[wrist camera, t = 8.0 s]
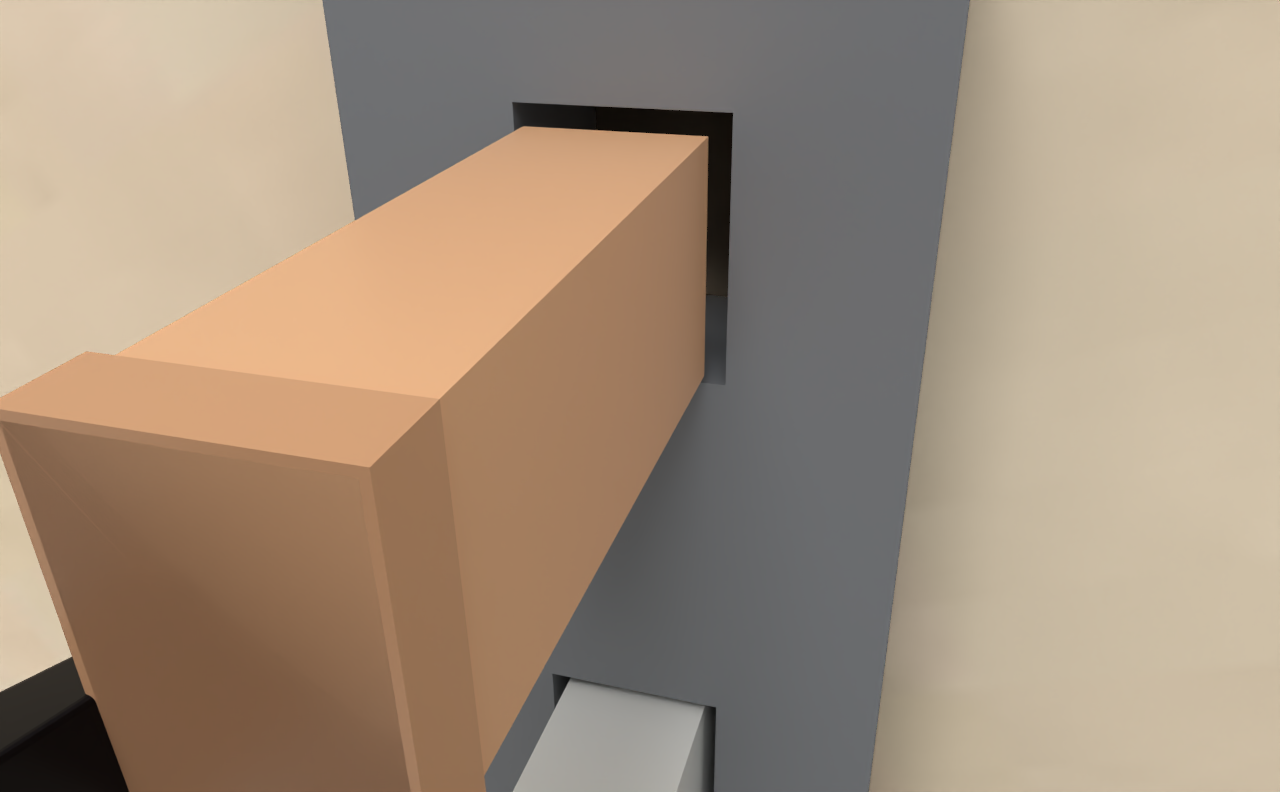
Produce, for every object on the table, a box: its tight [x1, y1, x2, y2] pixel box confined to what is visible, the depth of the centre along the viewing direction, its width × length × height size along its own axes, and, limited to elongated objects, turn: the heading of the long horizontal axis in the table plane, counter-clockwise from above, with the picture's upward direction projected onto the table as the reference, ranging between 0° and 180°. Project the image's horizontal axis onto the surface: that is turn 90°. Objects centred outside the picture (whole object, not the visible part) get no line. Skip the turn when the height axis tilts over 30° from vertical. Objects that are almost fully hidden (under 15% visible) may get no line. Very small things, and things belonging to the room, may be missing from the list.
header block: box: [323, 0, 970, 792], centre depth 21 cm, size 24×10×4 cm, turn 0°
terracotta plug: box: [0, 126, 708, 792], centre depth 12 cm, size 4×3×10 cm
